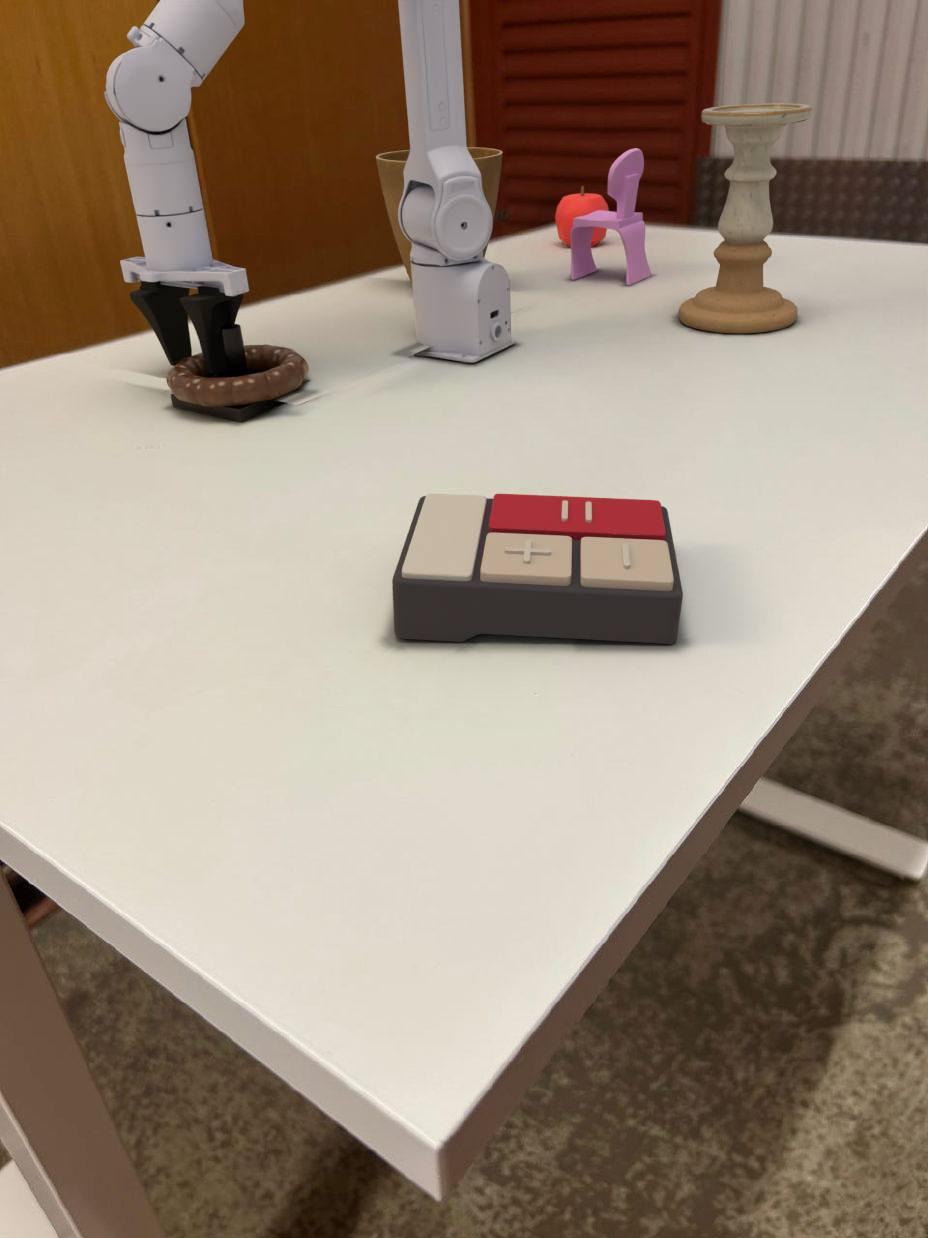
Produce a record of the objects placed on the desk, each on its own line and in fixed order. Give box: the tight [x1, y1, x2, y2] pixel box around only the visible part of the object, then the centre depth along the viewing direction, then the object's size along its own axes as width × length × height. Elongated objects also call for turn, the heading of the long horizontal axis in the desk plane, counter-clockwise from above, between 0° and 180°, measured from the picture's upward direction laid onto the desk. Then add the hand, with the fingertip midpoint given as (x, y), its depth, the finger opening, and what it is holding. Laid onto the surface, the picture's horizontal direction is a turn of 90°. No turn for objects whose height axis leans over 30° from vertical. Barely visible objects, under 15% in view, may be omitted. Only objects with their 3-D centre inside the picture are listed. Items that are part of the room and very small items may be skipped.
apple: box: [554, 185, 610, 248], centre depth 141 cm, size 8×8×8 cm
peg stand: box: [170, 323, 311, 423], centre depth 87 cm, size 9×9×7 cm
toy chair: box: [570, 147, 652, 286], centre depth 119 cm, size 8×9×15 cm
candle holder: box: [678, 102, 814, 334], centre depth 98 cm, size 12×12×20 cm
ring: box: [165, 344, 310, 406], centre depth 87 cm, size 12×12×2 cm
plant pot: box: [375, 146, 504, 284], centre depth 116 cm, size 15×15×16 cm
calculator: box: [391, 493, 684, 645], centre depth 54 cm, size 11×4×15 cm
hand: (200, 366), depth 90 cm, fingers open, 5 cm apart
